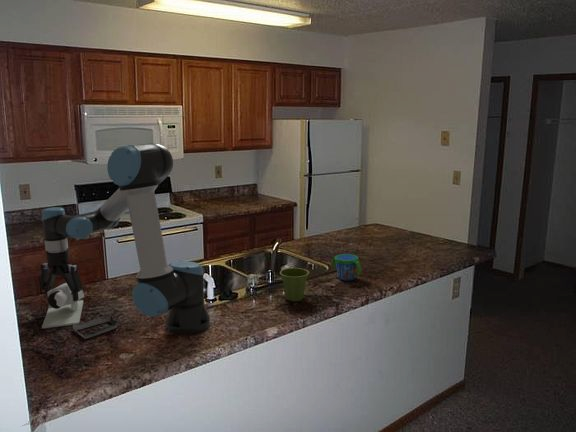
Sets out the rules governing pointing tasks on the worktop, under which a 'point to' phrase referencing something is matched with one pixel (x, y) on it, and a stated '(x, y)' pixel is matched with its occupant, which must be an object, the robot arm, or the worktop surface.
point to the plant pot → (294, 283)
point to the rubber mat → (63, 316)
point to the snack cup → (346, 266)
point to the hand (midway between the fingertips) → (63, 308)
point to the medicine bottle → (62, 296)
